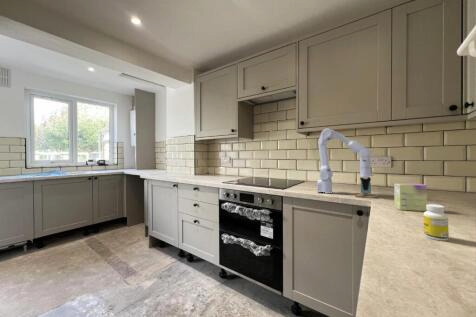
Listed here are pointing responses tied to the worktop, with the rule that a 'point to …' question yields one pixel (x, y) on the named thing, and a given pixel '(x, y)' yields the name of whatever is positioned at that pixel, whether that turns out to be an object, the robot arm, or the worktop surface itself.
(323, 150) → the robot arm
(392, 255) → the worktop surface
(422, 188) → the box
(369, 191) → the teal rectangular block
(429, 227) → the supplement bottle
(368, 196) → the post board
